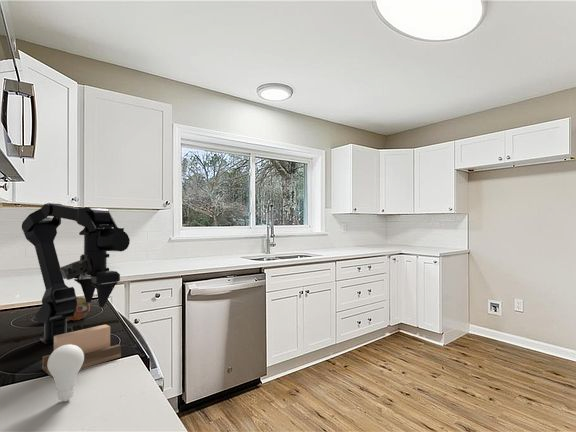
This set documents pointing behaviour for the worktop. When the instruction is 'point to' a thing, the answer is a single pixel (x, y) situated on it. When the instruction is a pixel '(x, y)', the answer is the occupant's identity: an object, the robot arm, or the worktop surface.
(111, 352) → the track
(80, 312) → the tin
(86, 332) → the tan rectangular block
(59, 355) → the lightbulb
